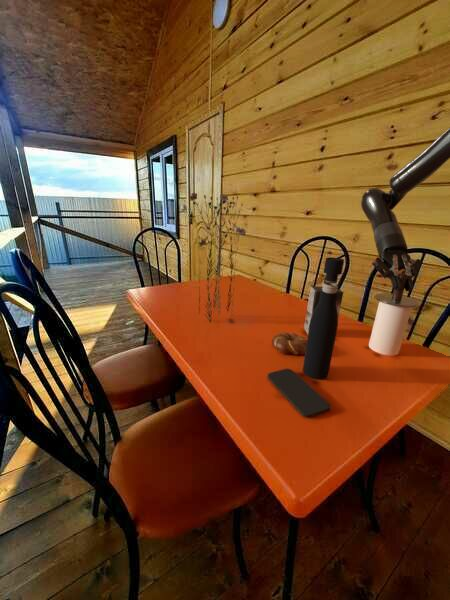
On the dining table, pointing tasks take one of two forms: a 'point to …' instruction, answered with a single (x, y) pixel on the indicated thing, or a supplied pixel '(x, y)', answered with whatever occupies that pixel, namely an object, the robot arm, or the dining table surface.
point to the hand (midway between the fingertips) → (404, 289)
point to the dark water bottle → (323, 324)
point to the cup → (389, 329)
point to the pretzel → (289, 343)
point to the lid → (398, 296)
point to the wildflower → (240, 231)
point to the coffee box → (314, 301)
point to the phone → (299, 393)
